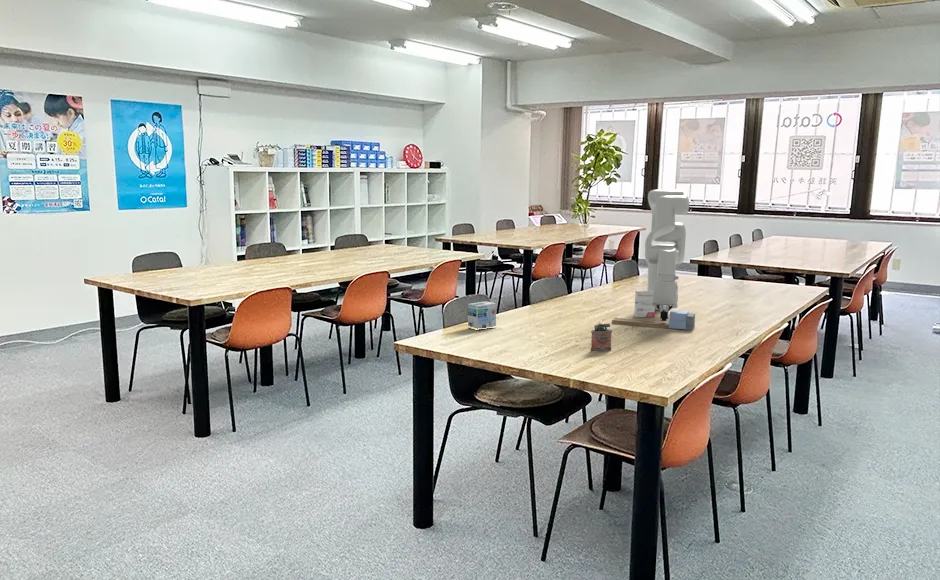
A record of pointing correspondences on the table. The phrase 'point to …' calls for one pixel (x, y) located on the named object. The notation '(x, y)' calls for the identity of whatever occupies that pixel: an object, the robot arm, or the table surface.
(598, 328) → the lighter
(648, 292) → the ink box
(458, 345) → the table surface
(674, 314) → the block
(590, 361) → the table surface
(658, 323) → the rail
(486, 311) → the light bulb box
